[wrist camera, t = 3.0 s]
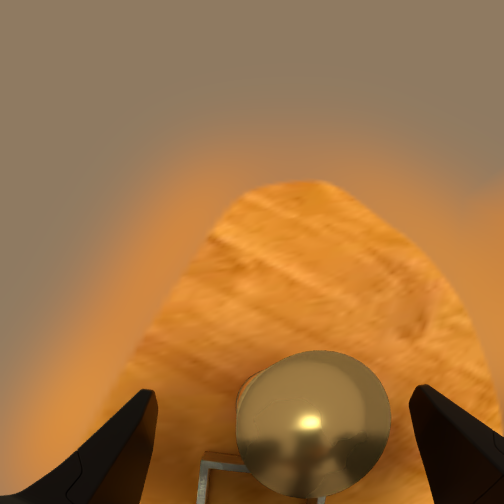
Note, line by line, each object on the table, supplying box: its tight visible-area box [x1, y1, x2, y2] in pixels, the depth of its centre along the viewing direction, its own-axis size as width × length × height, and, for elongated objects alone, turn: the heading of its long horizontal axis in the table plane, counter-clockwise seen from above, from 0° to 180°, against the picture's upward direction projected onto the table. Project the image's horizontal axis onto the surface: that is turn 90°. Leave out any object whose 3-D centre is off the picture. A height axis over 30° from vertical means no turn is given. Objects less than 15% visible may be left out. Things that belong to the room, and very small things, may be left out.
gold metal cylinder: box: [236, 351, 391, 498], centre depth 11 cm, size 4×4×11 cm
